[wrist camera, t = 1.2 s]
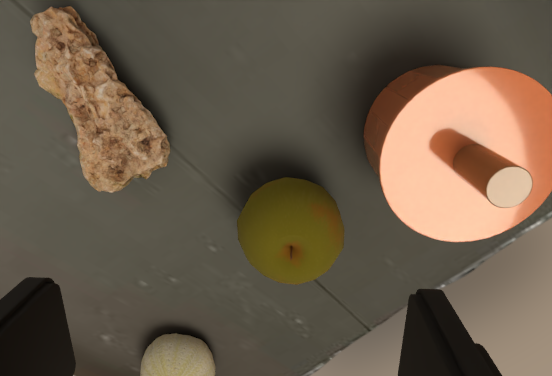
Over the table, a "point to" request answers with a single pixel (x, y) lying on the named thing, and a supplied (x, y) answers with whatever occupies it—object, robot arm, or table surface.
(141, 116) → the rock
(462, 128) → the lid
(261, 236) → the apple
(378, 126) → the crock
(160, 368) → the sea urchin shell
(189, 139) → the table surface
